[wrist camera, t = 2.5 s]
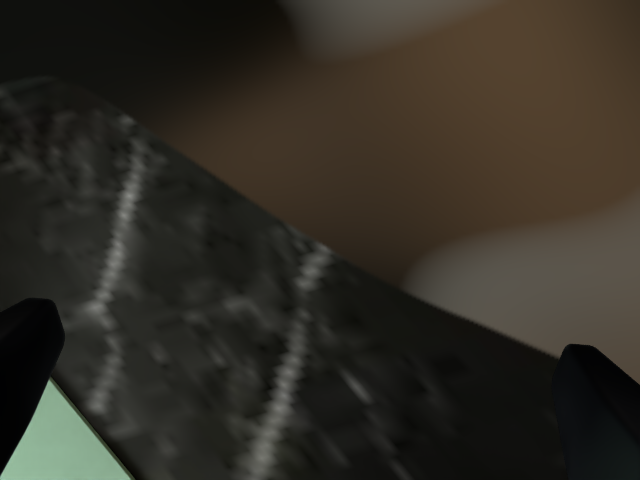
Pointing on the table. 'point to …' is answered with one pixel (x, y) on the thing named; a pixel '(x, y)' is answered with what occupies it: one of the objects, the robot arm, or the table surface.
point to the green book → (62, 445)
